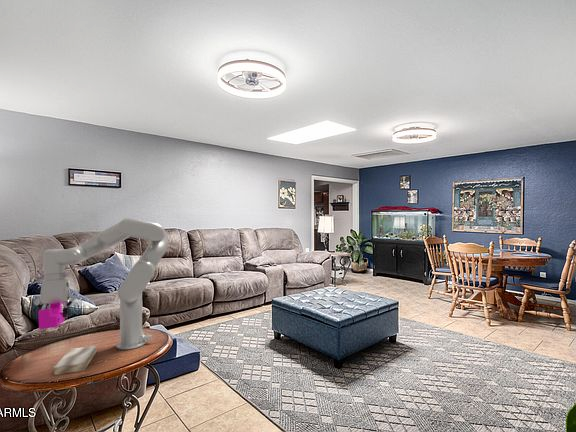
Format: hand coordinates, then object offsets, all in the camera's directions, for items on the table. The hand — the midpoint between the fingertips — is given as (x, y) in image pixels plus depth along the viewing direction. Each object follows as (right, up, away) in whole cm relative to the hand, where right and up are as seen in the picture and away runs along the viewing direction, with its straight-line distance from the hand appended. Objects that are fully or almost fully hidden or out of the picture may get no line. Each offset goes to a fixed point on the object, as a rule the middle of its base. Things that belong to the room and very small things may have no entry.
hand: (55, 317), depth 139 cm
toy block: (+1, -2, -2) cm, 3 cm away
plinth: (+14, -17, -7) cm, 23 cm away
